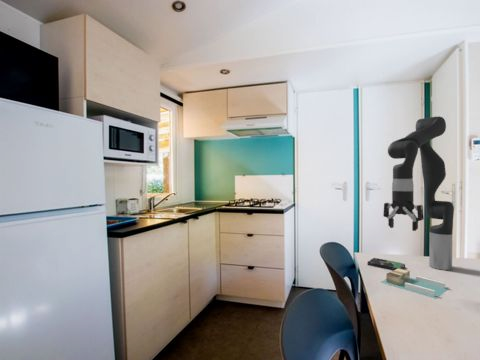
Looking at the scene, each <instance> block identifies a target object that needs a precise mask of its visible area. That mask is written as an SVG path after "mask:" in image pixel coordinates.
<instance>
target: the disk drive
mask: <svg viewBox="0 0 480 360" xmlns="http://www.w3.org/2000/svg"><path fill="white" fill-rule="evenodd" d="M366 264H367V266H370V267H373V268H380V269H384V270H389V271H391V272H392V271H394V270H396V269H398V268H400V269H404V270H405V268H406V264H405V263H402V262H397V261H393V260H387V259H384V258H383V259H382V258H377V257H373V258H372V259H370V260H368V261H367V263H366Z"/></svg>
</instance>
